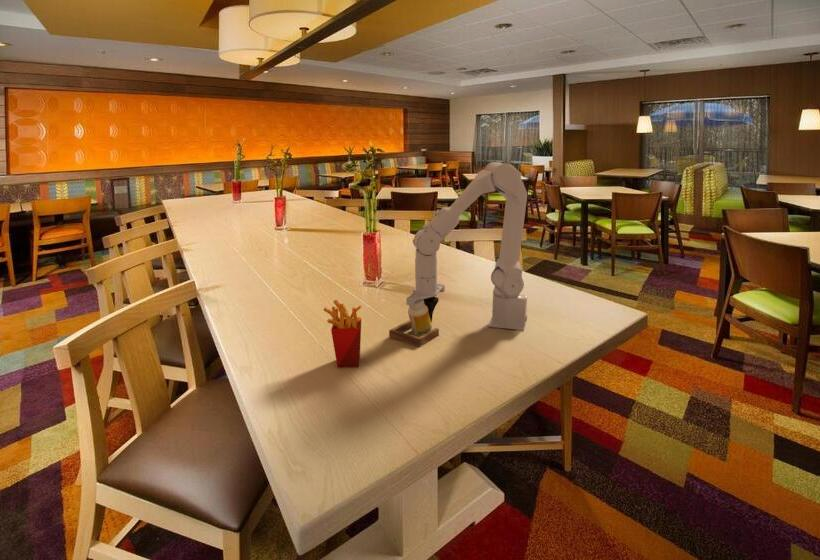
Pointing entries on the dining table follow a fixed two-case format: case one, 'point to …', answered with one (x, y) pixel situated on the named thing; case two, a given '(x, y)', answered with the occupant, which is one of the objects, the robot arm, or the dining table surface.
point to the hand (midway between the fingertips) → (426, 322)
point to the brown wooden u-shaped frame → (417, 341)
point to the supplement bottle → (419, 318)
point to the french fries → (345, 335)
